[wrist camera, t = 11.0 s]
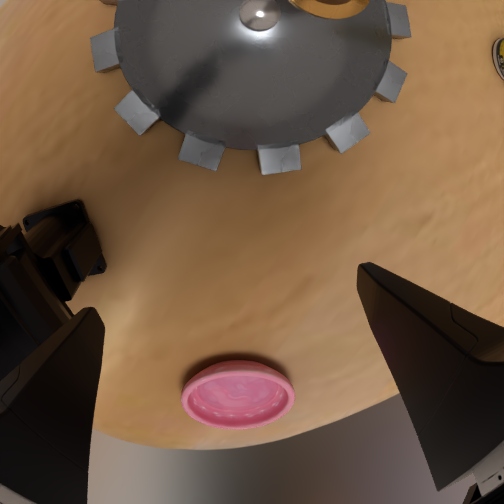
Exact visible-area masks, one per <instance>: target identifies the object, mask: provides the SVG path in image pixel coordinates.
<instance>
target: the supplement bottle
mask: <svg viewBox="0 0 504 504" xmlns="http://www.w3.org/2000/svg"><path fill="white" fill-rule="evenodd" d="M493 58H494V63H495V66H496V69H497V71H498V73H499V74H500V76H501V77H502V78H503V80H504V38H501V39H498V40H497V41H496V42H495V44H494V48H493Z"/></svg>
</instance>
